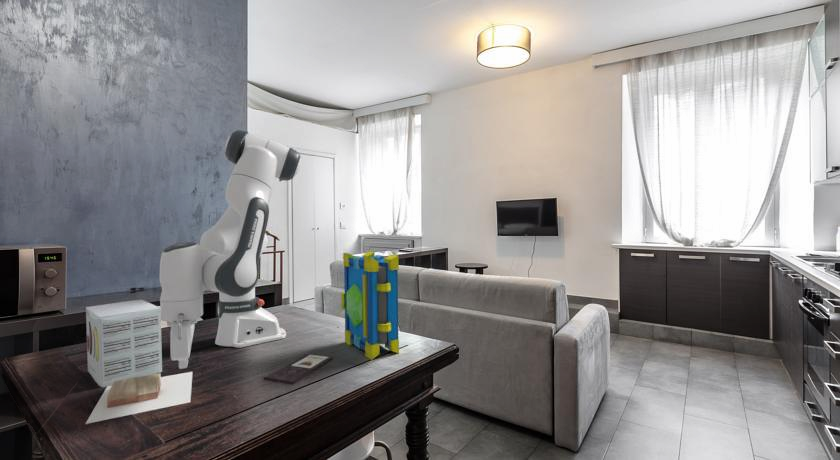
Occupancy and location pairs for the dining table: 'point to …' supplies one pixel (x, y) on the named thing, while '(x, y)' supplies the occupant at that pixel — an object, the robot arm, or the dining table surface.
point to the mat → (170, 394)
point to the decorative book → (371, 302)
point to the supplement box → (123, 341)
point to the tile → (134, 390)
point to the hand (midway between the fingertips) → (183, 366)
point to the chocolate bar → (298, 369)
